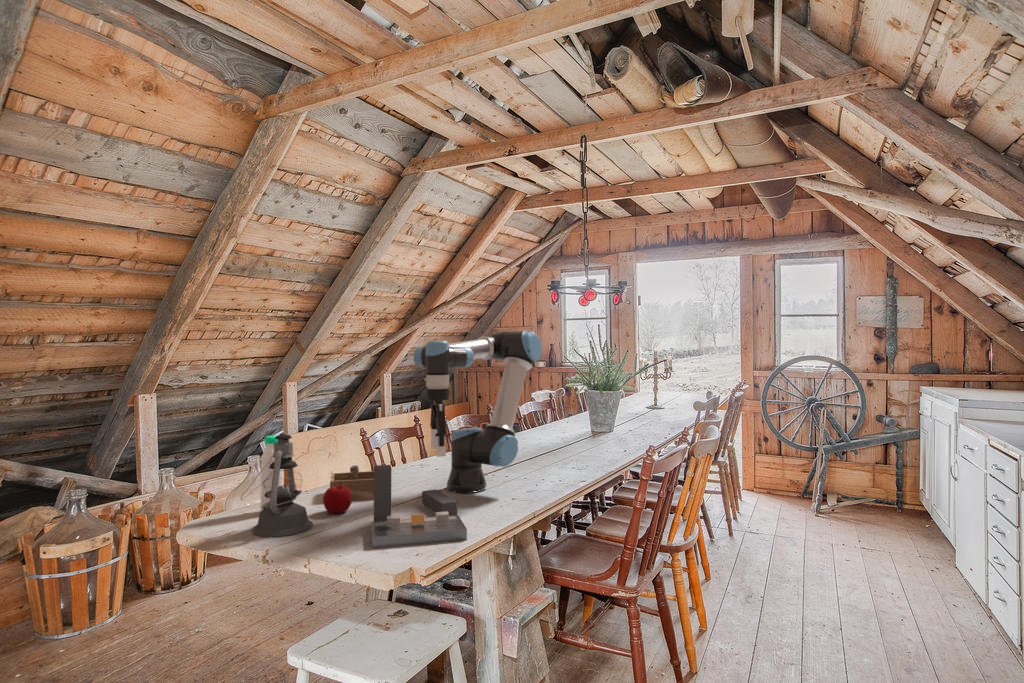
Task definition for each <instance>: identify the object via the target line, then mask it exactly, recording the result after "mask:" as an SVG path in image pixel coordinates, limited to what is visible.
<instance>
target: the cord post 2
mask: <svg viewBox="0 0 1024 683" xmlns="http://www.w3.org/2000/svg"><path fill="white" fill-rule="evenodd" d="M421 496H422V497H421V502H422V503H421V505H422V504H423V505H424V506H423V505H422V506H423V507H425V508H426V507H427V508H426V509H428V508H429V509H430V510H429V509H428V510H429V511H431V510H432V511H433V512H432V511H431V512H432V513H434V512H435V513H436V512H447V511H448V513H449V516H454V515H458V501H457V500H455V499H453V498H452V497H450V496H448V495H447V494H445V493H443V492H441V491H440V490H437V489H429V490H423V491H422V495H421ZM435 513H434V514H435Z"/></svg>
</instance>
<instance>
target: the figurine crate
mask: <svg viewBox="0 0 1024 683" xmlns="http://www.w3.org/2000/svg"><path fill="white" fill-rule="evenodd" d="M350 474H351V472H350V471H348V472H334V473H333V472H332V473H331V475H330V481H329V488H330V487H333V486H338V485H340V482H342V483H341V485H342V486H346V487H348V488H349V490H350V492H351V495H352V501H361V500H363V501H364V500H374V470H369V471H359V474H358V475H357V479H358V480H350V478H351V475H350Z"/></svg>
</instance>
